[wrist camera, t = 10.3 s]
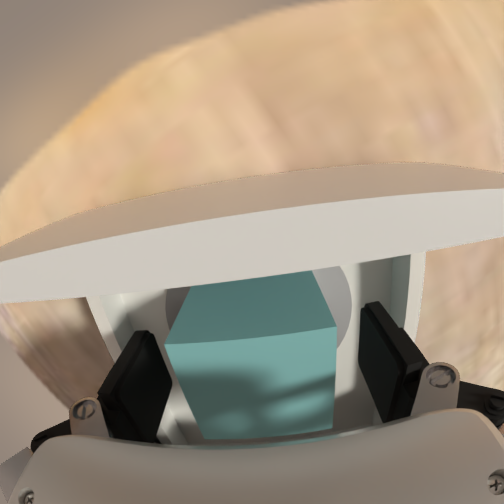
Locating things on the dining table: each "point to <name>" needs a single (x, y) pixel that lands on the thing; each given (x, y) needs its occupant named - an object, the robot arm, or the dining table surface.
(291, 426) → the teal block
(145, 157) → the dining table surface
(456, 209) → the tray
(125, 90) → the dining table surface
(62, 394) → the dining table surface
